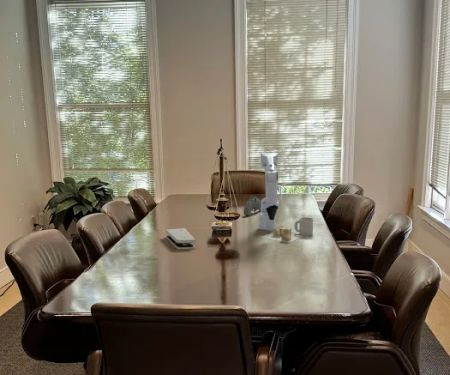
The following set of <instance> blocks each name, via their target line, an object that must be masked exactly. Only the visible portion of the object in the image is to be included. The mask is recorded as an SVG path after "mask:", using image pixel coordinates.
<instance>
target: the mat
mask: <svg viewBox="0 0 450 375" xmlns="http://www.w3.org/2000/svg"><path fill="white" fill-rule="evenodd" d="M302 237H304V235H300V234H295V233H291V240H289V241H285V240H281V236H280V237H278V236H273V231H271V232H270V233H268V234H265V235H262V236H259V238H261V239H267V240H273V241H277V242H283V243H292V242H294V241H296V240H298V239H301V238H302Z"/></svg>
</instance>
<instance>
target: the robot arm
mask: <svg viewBox="0 0 450 375" xmlns="http://www.w3.org/2000/svg"><path fill="white" fill-rule="evenodd" d="M278 164H279V153H278V152H261V153H260V167H261V169H264V173H265V178H264V179H265V180H264V181H265V197H264V198H262V199H261V200H260V201H261V211H260V214H259V215H258V228H257V229H258V230H264V231H270V232H273V228H275V227H277V226H276V224H277V223H276V222H277V217H276V216H277V214H278V213H279V205H281V200H278V182H279V171H278V170H277V167H278Z"/></svg>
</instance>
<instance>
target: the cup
mask: <svg viewBox="0 0 450 375" xmlns="http://www.w3.org/2000/svg"><path fill="white" fill-rule="evenodd" d="M298 225H299V228H298ZM293 226H294V231H296V232H297V233H299V234H298V235H302V236H304V237H305V236H312V235H314V218H313V217H309V216H307V217H305V216H304V217H300V218H299V219H298V220H296V221H295V222H294V225H293Z"/></svg>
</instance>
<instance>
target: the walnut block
mask: <svg viewBox="0 0 450 375" xmlns="http://www.w3.org/2000/svg"><path fill="white" fill-rule="evenodd" d="M284 227H285V226H284V225H283V226H282V225H278V226H276V227H275V228H273V231H272V232H273V236H278V237H280V236H281V233H282V228H284Z"/></svg>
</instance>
